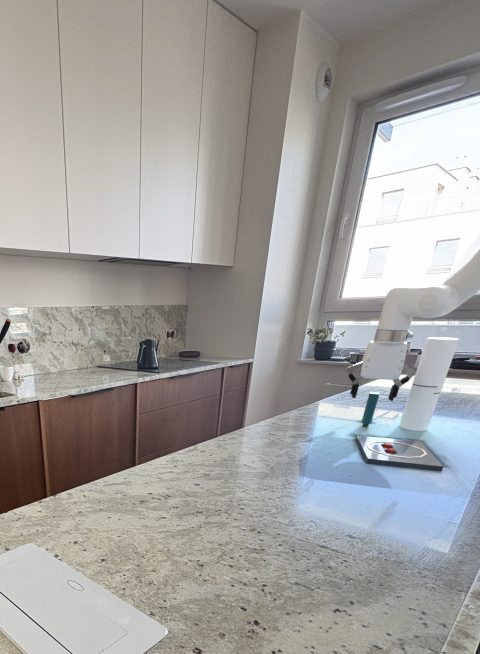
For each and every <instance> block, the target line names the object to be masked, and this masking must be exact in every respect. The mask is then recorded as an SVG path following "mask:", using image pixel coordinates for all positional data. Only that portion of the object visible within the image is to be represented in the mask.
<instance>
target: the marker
mask: <svg viewBox="0 0 480 654" xmlns="http://www.w3.org/2000/svg"><path fill="white" fill-rule="evenodd" d="M379 398H380V392H375V391H374V392H373V391H370V392H369V393H368V397H367V400H366V404H365V408H364V411H363V415H362V417H361V418H362V419H361V422H360V423H361V424H362V427H363V428H364V427H365V428H368V427H369V425H371V424H372V421H373V419H374V415H375V412H376V408H377V406H378V401H379Z"/></svg>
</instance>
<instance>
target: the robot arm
mask: <svg viewBox="0 0 480 654" xmlns="http://www.w3.org/2000/svg"><path fill="white" fill-rule="evenodd" d="M479 292H480V246H479V247H478V248H477V250H476V252H474V254H473V256H472V257H471V258H470V259H469V260H468V261H467V262H466V263H465V264H464V265H463V266H462V267H461V268H460V269H458V270H457V271H456V272H455V273H454V274H452V275H451V276H450V277H449V278H448V279H446V280H445V281H444V282H442V283H441V284H439V285H430V286H423V287H418V286H394V287H391V288H389V290H388V291H387V292H386V295H385V299H384V303H383V305H382V309H381V312H380V317H379V320H378V322H377V323H378V324H377V327H376V330H375V334H374V338H373V340H370V341H369V342H368V345H367V346H366V349H365V351H364V354H363V356H362V360H361V361H359V362H358V363H357V362H356V363H355V364H351V365H349V366H347V367H345V370H346V373H347V377H348V379H349V380H350V381H351V382H352V384H351V389H350V393H349V394H350V395H351V398H352V399H356V397H357V394H358V392H359V391H358V390H359V387H360V384H359V383H360V382H361V381H362V380H364V379H371V380H387V381H388V380H389V381H392V382H393V384H392V386H391V387H390V392H389V395H388V397H387V399H388V400H389V401H390V402H394V400H395V398H397V396H398V394H399V390H400V388H401V387H402V386H403V385H405V384H406V383H408V382H409V381H410V380H411V379H412V378H414V377H415V374H416V371H417V370H414V369H412V368H411V367H409V366H408V365H406V364H405V361H406V356H407V349H408V342H407V340H408V339H413V337H414V335H415V332H412V331H410V328H411V324H412V321H413V318H414V317H415V318H420V319H433V318H439V317H440V318H441V317H443V316H447V315H448V314H450V313H451V312H453V311H455V310H456V309H458V308H459V307H460V306H461V305H463V304H464V303H466V302H467V301H468V300H469V299H471V298H472V297H473V296H475V295H476V294H477V293H479ZM357 369H358V375H356V376H354V373H353V371H355V370H357ZM403 371H404V372H406V373H407V374H406V375H405V376H404V377H401V375H402V372H403ZM400 377H401V379H400Z"/></svg>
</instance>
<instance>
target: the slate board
mask: <svg viewBox="0 0 480 654" xmlns="http://www.w3.org/2000/svg"><path fill="white" fill-rule="evenodd" d="M355 442H356V444H357V446H358V448H359V451H360V453H361V455H362V457H363V459H364V462H365V464H370V465H379V466H389V467H397V468H407V469H415V470H416V469H417V470H425V469H426V470H425V471H435V472H443V468H444V465H443V464H442V463H441V462H440V461H439V459H437V458H436V456H435V455H434V454H433V453H432V452H431V451H430V450H429V448H428V447H426V445H425V444H424V443H423V442H422V441H421V440H414V439H413V440H412V439H402V438H401V439H400V438H391V437H377V436H365V435H356V437H355ZM384 443H388V444H391V445H392V446H391V448H390V449H395V453H386V450H387V449H388V448H387V447H383V444H384Z"/></svg>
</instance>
